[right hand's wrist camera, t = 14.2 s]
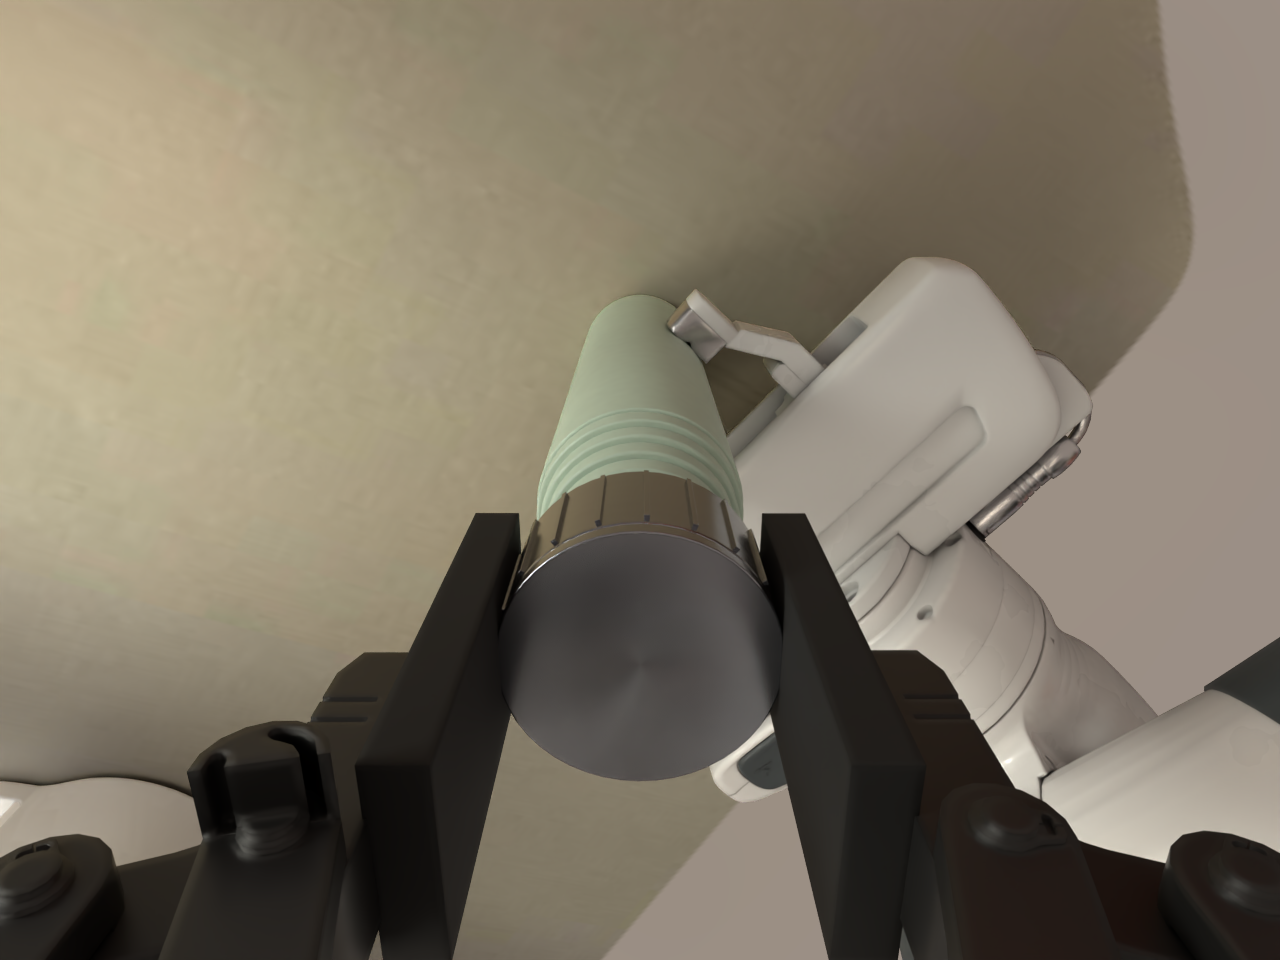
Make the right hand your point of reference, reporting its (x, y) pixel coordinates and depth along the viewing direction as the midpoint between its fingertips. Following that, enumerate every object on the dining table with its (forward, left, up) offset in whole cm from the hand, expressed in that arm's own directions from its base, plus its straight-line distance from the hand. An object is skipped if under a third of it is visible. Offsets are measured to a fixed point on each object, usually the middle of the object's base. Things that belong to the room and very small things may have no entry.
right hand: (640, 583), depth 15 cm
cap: (0, 0, +2) cm, 2 cm away
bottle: (0, 0, -21) cm, 21 cm away
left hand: (0, +1, -14) cm, 14 cm away
